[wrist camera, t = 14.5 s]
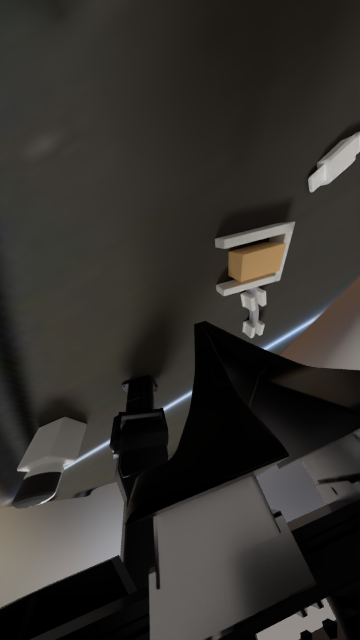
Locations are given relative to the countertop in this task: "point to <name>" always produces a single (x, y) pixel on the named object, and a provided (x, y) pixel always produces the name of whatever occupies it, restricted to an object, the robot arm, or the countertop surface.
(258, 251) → the tan rectangular block
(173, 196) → the countertop surface
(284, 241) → the end holder
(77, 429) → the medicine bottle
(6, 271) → the countertop surface
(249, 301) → the clip
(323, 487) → the robot arm
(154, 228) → the countertop surface
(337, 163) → the charging cable
